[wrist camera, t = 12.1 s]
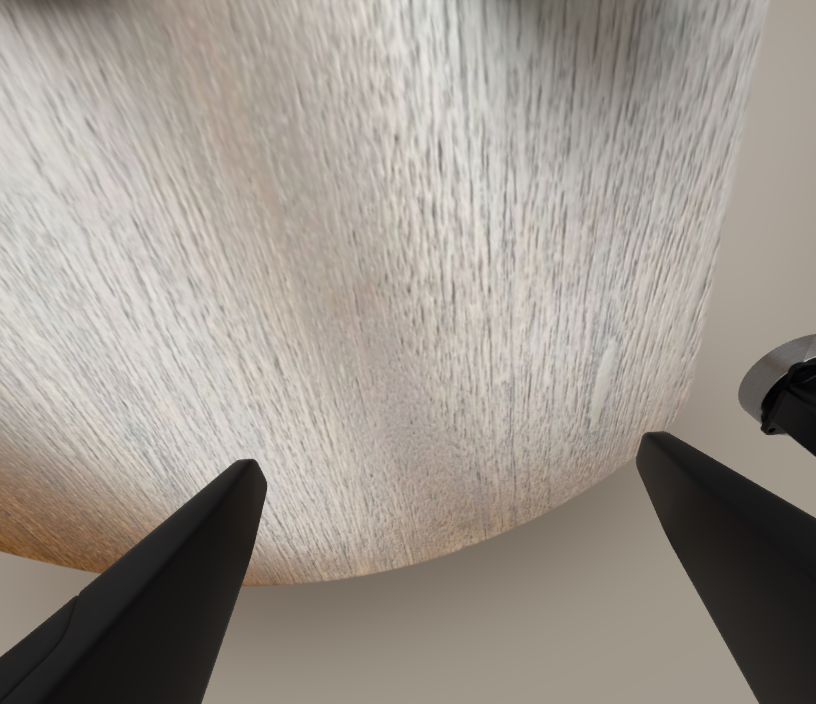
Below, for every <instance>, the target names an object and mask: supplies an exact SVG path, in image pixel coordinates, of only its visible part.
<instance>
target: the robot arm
mask: <svg viewBox="0 0 816 704" xmlns="http://www.w3.org/2000/svg"><path fill="white" fill-rule="evenodd" d="M760 429H761V431H762V432H763V433H765V434H766V435H775V434H788V435H789V436H791V437H792V438H793V439H794V440H795V441H797V442H798V443H799V444H801V445H802V446H803V447H804V448H806V449H807V450H808V451H809V452H810V453H812V454H813V455H814V456H815V457H816V361H806V362H798V363H795V364H793V365H792V366H791V367H790V368H789V370H788V372H787V374H786V376H785V378H784V380H783V382H782V384H781V386H780V388H779V390H778V392H777V394H776V396H775V399H774V401H773V403H772V405H771V407H770V409H769V411H768V413H767V415H766V417H765V419H764V421H763V423H762V425H761V428H760ZM636 464H637V468H638V471H639V473H640V476H641V478H642V480H643V483H644V485H645V487H646V489H647V492H648V494H649V496H650V499H651V501H652V504H653V506H654V508H655V511H656V513H657V515H658V518H659V520H660V522H661V525H662V527H663V529H664V531H665V533H666V535H667V537H668V539H669V541H670V543H671V545H672V547H673V549H674V550H675V552H676V554H677V556H678V558H679V559H680V562H681V563H682V565H683V567H684V569H685V571H686V572H687V574H688V576H689V578H690V579H691V581H692V583H693V585H694V587H695V589H696V590H697V592H698V594H699V596H700V598H701V599H702V601H703V603H704V605H705V607H706V608H707V610H708V612H709V614H710V616H711V618H712V619H713V621H714V623H715V625H716V627H717V628H718V630H719V632H720V634H721V636H722V637H723V639H724V641H725V643H726V644H727V646H728V648H729V650H730V652H731V654H732V655H733V657H734V659H735V661H736V663H737V664H738V666H739V668H740V670H741V672H742V673H743V675H744V677H745V679H746V681H747V682H748V684H749V686H750V688H751V690H752V691H753V693H754V695H755V697H756V699H757V701H758V702H759V704H816V518H815V517H813V516H811V515H809V514H808V513H806V512H804V511H803V510H801V509H799V508H797V507H796V506H794V505H792V504H790V503H789V502H787V501H785V500H784V499H782V498H780V497H778V496H777V495H775V494H773V493H771V492H770V491H768V490H766V489H765V488H763V487H761V486H759V485H758V484H756V483H754V482H752V481H751V480H749V479H747V478H746V477H744V476H742V475H740V474H739V473H737V472H735V471H733V470H732V469H730V468H728V467H727V466H725V465H723V464H721V463H720V462H718V461H716V460H715V459H713V458H711V457H709V456H708V455H706V454H704V453H702V452H701V451H699V450H697V449H696V448H694V447H692V446H690V445H688V444H687V443H685V442H683V441H682V440H680V439H678V438H676V437H675V436H673V435H671V434H670V433H667V432H664V431H660V432H647V433H645V434H644V435H643V436H642V439H641V443H640V446H639V450H638V453H637V457H636ZM266 492H267V481H266V479H265V477H264V475H263V473H262V471H261V468H260V466H259V464H258V462H257V461H256V460H254V459H242V460H237V461H236V462H234V463H233V464H232V465H231V466H230V467H228V468H227V469H226V470H225V471H224V472H222V473H221V474H220V475H219V476H218V477H216V478H215V479H214V480H213V481H212V482H210V483H209V484H208V485H207V486H206V487H205V488H203V489H202V490H201V491H200V492H199V493H197V494H196V495H195V496H194V497H193V498H191V499H190V500H189V501H188V502H187V503H185V504H184V505H183V506H182V507H181V508H180V509H178V510H177V511H176V512H175V513H174V514H172V515H171V516H170V517H169V518H168V519H166V520H165V521H164V522H163V523H162V524H160V525H159V526H158V527H157V528H156V529H155V530H153V531H152V532H151V533H150V534H149V535H147V536H146V537H145V538H144V539H143V540H141V541H140V542H139V543H138V544H137V545H135V546H134V547H133V548H132V549H131V550H130V551H128V552H127V553H126V554H125V555H124V556H122V557H121V558H120V559H119V560H118V561H116V562H115V563H114V564H113V565H112V566H110V567H109V568H108V569H107V570H106V571H104V572H103V573H102V574H101V575H100V576H99V577H97V578H96V579H95V580H94V581H93V582H91V583H90V584H89V585H88V586H87V587H85V588H84V589H83V590H82V591H81V592H80V593H79V596H75V597H73V598H72V599H71V600H70V601H69V602H68V603H66V604H65V605H64V606H63V607H62V608H61V609H59V610H58V611H57V612H56V613H55V614H53V615H52V616H51V617H50V618H48V619H47V620H46V621H45V622H43V623H42V624H41V625H40V626H39V627H38V628H36V629H35V630H34V631H32V632H31V633H30V634H29V635H28V636H26V637H25V638H24V639H23V640H21V641H20V642H19V643H18V644H17V645H15V646H14V647H13V648H12V649H10V650H9V651H8V652H6V653H5V654H4V655H3V656H1V657H0V704H201V703H202V700H203V697H204V694H205V691H206V688H207V685H208V682H209V679H210V676H211V674H212V671H213V667H214V665H215V662H216V659H217V656H218V653H219V650H220V647H221V644H222V641H223V638H224V635H225V632H226V629H227V626H228V623H229V620H230V617H231V615H232V612H233V609H234V606H235V603H236V600H237V597H238V594H239V591H240V588H241V585H242V582H243V579H244V576H245V573H246V570H247V567H248V564H249V561H250V558H251V555H252V551H253V548H254V544H255V540H256V535H257V531H258V527H259V522H260V518H261V514H262V509H263V505H264V501H265V497H266Z"/></svg>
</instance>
